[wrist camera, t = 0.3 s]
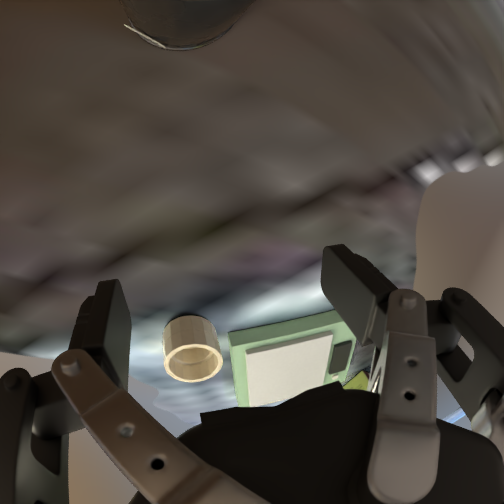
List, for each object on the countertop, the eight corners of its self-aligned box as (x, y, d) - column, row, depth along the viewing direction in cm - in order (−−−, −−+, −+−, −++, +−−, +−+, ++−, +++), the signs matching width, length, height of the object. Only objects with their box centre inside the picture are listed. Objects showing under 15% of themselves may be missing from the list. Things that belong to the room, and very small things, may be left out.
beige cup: (157, 317, 33) (158, 349, 29) (212, 308, 34) (219, 339, 30) (168, 354, 36) (171, 385, 32) (217, 346, 37) (225, 377, 33)
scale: (227, 332, 36) (232, 351, 34) (353, 305, 40) (365, 319, 37) (235, 396, 43) (240, 413, 41) (338, 370, 47) (347, 384, 44)
